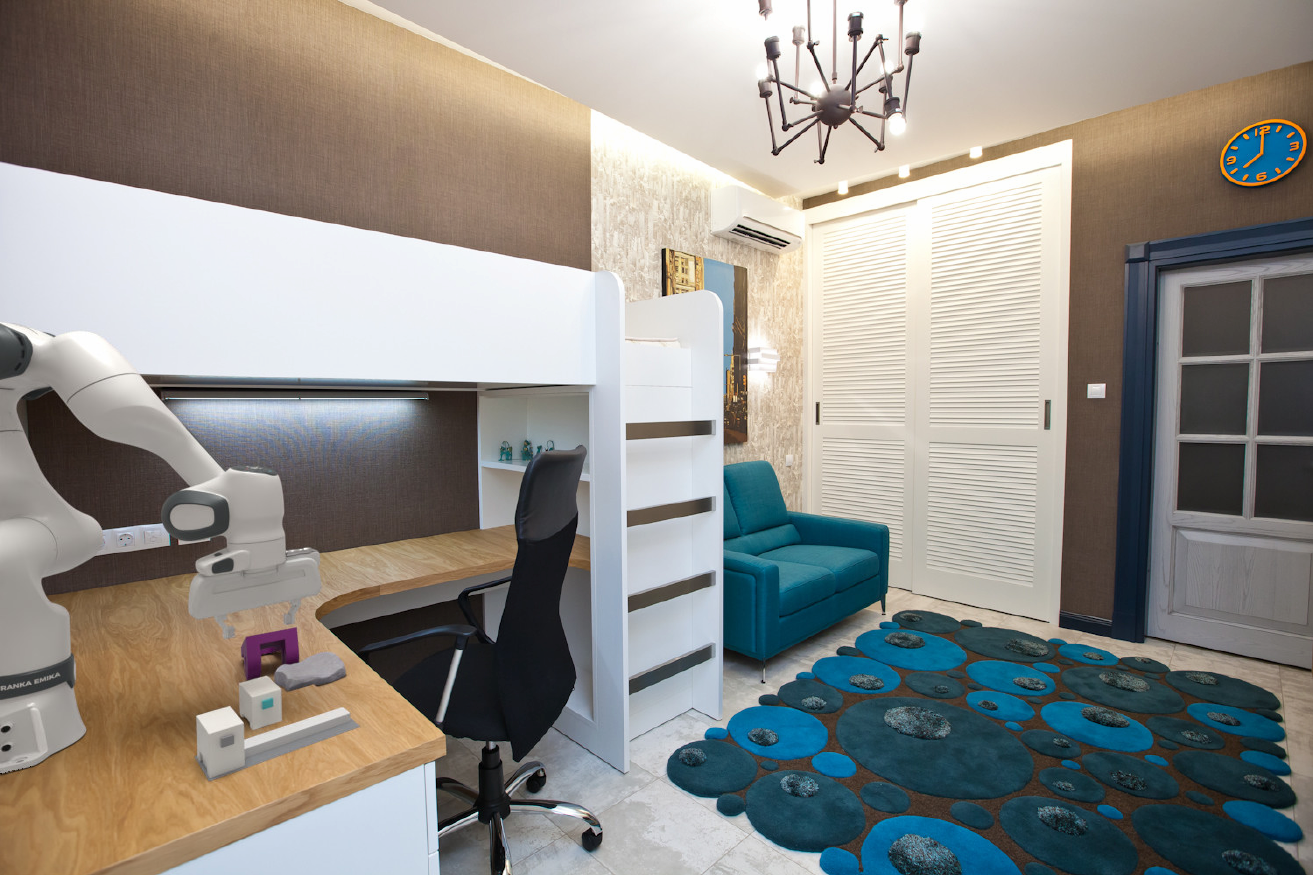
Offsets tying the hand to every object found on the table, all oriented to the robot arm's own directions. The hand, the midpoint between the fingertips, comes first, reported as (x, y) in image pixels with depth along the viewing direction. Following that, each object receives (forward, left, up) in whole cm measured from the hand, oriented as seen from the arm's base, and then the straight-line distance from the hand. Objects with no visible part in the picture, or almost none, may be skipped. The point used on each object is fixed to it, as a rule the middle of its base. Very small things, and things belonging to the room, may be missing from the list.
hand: (260, 630), depth 110 cm
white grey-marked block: (-9, -12, -16) cm, 22 cm away
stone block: (+13, +13, -18) cm, 25 cm away
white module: (0, 0, -17) cm, 17 cm away
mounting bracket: (+9, +29, -18) cm, 35 cm away
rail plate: (0, -12, -17) cm, 21 cm away
